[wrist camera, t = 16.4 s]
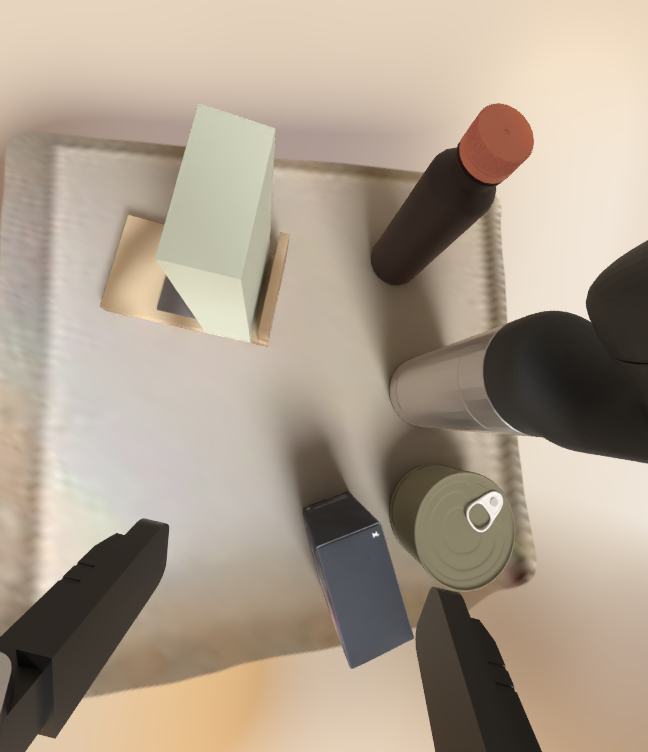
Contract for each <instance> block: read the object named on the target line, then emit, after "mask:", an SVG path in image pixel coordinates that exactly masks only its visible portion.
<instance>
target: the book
mask: <svg viewBox="0 0 648 752" xmlns="http://www.w3.org/2000/svg"><path fill="white" fill-rule="evenodd" d="M274 148H275V128H272V127H269V126H266V125H263V124H260V123H257V122H254V121H251V120H248V119H245V118H242V117H240V116H236V115H234V114H230V113H227V112H224V111H222V110H218V109H216V108H213V107H210V106H207V105H204V104H200V103H198V107H197V110H196V114H195V117H194V120H193V125H192V128H191V131H190V135H189V138H188V142H187V146H186V149H185V153H184V156H183V160H182V163H181V167H180V171H179V174H178V178H177V181H176V185H175V189H174V192H173V196H172V199H171V203H170V206H169V210H168V214H167V217H166V221H165V224H164V228H163V232H162V235H161V239H160V242H159V246H158V250H157V253H156V257H155V260H156V261H157V262H158V264H159V265H160V267H161V268H162V270H163V271H164V273H165V274H166V276H167V277H168V278H169V280H170V281H171V283H172V284H173V286H174V287H175V289H176V290H177V292H178V293H179V294H180V296H181V297H182V299H183V300H184V302H185V303H186V305H187V306H188V308H189V309H190V310H191V312H192V313H193V315H194V316H195V318H196V319H197V321H198V322H199V324H200V325H201V326H202V328H203V329H204V331H205V332H206V333H209V334H213V335H218V336H223V337H227V338H232V339H237V340H241V341H246V342H251V338H252V334H253V329H254V324H255V320H256V315H257V310H258V306H259V301H260V297H261V292H262V287H263V283H264V278H265V273H266V269H267V264H268V260H269V252H270V232H271V211H272V190H273V170H274Z"/></svg>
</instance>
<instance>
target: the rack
mask: <svg viewBox="0 0 648 752" xmlns="http://www.w3.org/2000/svg"><path fill="white" fill-rule="evenodd" d="M163 228H164V224H160V223H157V222H153V221H149V220H146V219H142V218H138V217H135V216H131V215H128V217H127V220H126V224H125V227H124V230H123V233H122V236H121V240H120V243H119V246H118V249H117V252H116V256H115V259H114V262H113V265H112V268H111V272H110V275H109V278H108V281H107V284H106V288H105V291H104V294H103V297H102V301H101V304H100V307H101V308H103V309H104V310H106V311H109V312H114V313H118V314H123V315H127V316H132V317H136V318H141V319H145V320H150V321H154V322H159V323H163V324H168V325H172V326H177V327H182V328H186V329H191V330H195V331H200V332H204V333H206V332H205V331H204V329H203V328H202V326H201V325H200V324H199V322H198V321H197V319H196V318H195V316H194V315H193V313H192V312H191V310H190V309H189V308H188V306H187V305H186V303H185V302H184V300H183V299H182V297H181V296H180V294H179V293H178V292H177V290H176V289H175V287H174V286H173V284H172V283H171V281H170V280H169V278H168V277H167V276H166V274H165V273H164V271H163V270H162V268H161V267H160V265H159V264H158V262H157V261H156V260H155V257H156V253H157V250H158V246H159V242H160V239H161V235H162V232H163ZM289 236H290V235H289V234H286V233H282V232H280V236H279V240H278V245H277V249H276V254H275V255H274V254H270V253H269V260H268V264H267V269H266V273H265V278H264V283H263V287H262V292H261V297H260V301H259V306H258V310H257V315H256V320H255V324H254V329H253V334H252V338H251V342H249V343H254V344H258V345H263V346H267V345H268V341H269V336H270V331H271V327H272V322H273V318H274V313H275V308H276V304H277V299H278V294H279V290H280V285H281V281H282V276H283V271H284V267H285V261H286V255H287V248H288V242H289ZM222 337H223V336H222ZM231 339H232V338H231ZM236 340H237V339H236ZM240 341H241V340H240ZM245 342H246V341H245Z"/></svg>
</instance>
